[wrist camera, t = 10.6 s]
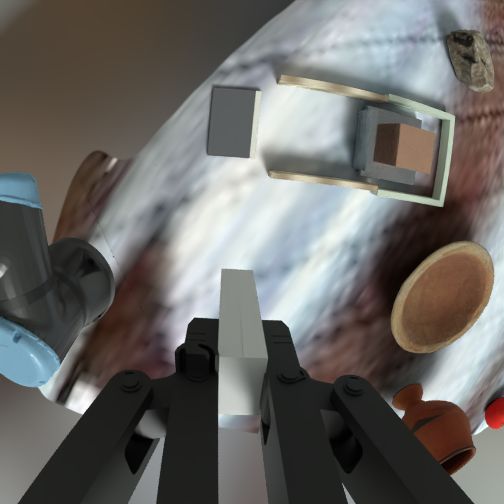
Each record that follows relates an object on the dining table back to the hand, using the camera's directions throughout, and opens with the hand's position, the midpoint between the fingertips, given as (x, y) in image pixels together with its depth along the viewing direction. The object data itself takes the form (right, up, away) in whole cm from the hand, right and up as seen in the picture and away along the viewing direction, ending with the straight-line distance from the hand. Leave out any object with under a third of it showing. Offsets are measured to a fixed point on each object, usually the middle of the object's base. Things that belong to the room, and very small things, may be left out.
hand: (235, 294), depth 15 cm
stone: (+42, +36, +25) cm, 60 cm away
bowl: (+35, -4, +39) cm, 53 cm away
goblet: (+39, -34, +50) cm, 72 cm away
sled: (+22, +19, +29) cm, 41 cm away
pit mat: (-2, +21, +27) cm, 34 cm away
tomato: (+87, -52, +60) cm, 118 cm away
